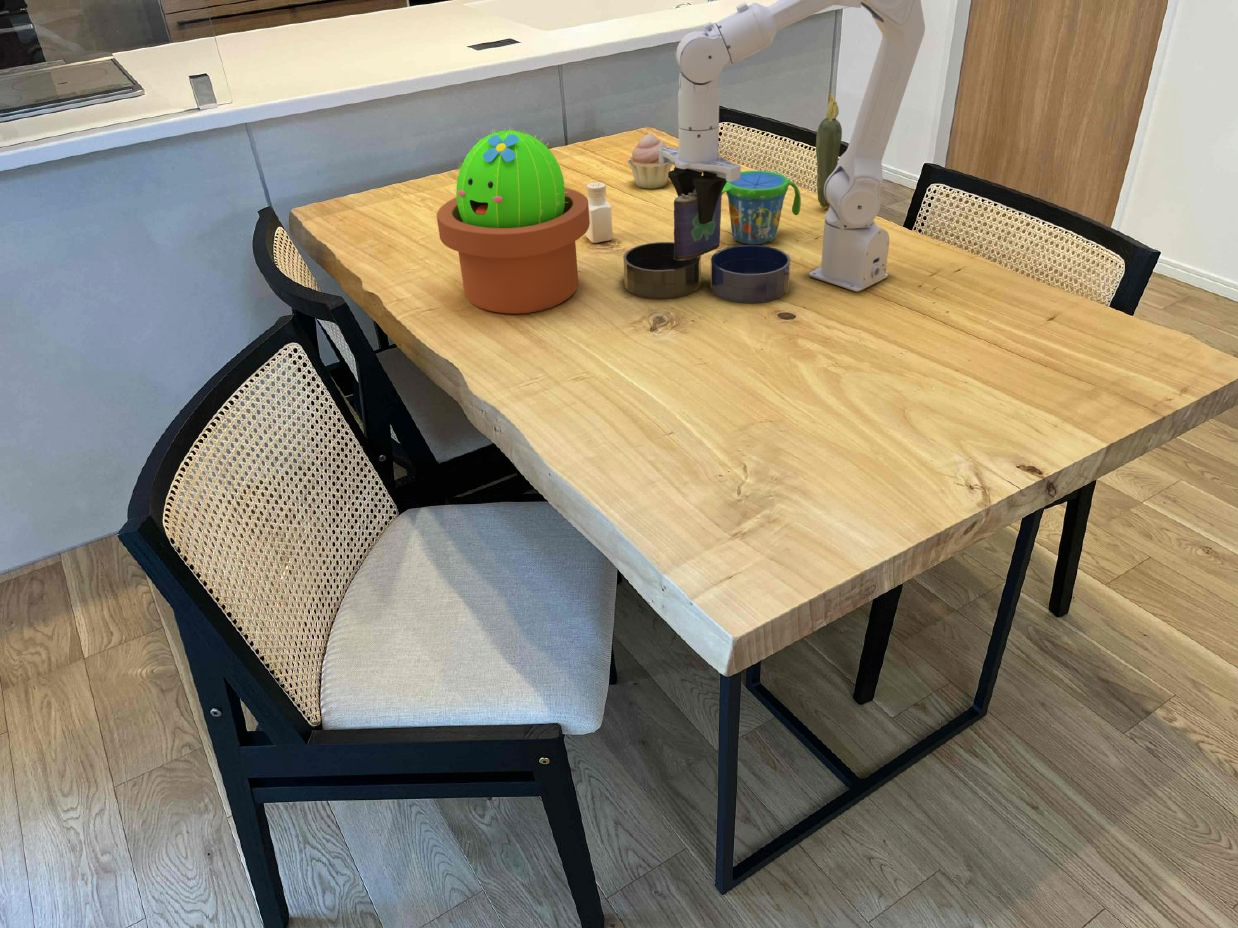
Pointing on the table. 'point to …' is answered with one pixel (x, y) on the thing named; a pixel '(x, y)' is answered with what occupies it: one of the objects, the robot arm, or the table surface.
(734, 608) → the table surface
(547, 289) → the potted cactus
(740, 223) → the snack cup
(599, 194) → the pepper shaker
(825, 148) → the vegetable
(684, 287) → the charcoal bowl
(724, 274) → the indigo bowl
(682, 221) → the flask
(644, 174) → the cupcake
